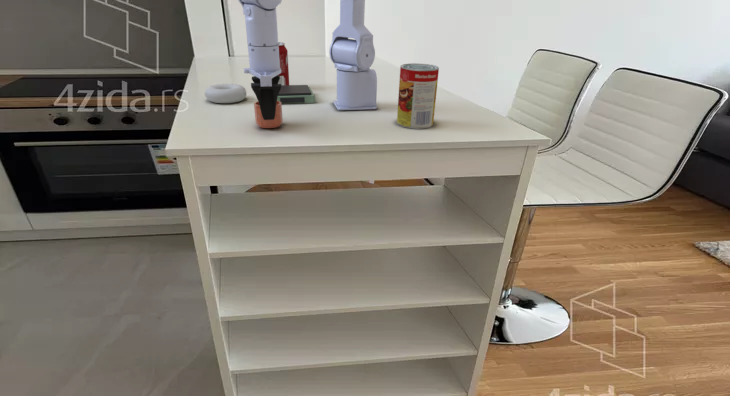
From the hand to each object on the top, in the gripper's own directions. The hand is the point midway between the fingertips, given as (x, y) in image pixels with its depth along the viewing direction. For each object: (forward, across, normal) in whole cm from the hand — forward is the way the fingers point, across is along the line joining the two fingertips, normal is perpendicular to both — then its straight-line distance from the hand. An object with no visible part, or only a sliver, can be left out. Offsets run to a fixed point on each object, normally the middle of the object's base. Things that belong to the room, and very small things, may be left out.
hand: (268, 115), depth 86 cm
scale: (+2, -24, +6) cm, 25 cm away
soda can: (+3, -37, +3) cm, 37 cm away
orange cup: (+2, 0, 0) cm, 2 cm away
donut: (+3, -24, -10) cm, 26 cm away
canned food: (+3, +2, +31) cm, 31 cm away
